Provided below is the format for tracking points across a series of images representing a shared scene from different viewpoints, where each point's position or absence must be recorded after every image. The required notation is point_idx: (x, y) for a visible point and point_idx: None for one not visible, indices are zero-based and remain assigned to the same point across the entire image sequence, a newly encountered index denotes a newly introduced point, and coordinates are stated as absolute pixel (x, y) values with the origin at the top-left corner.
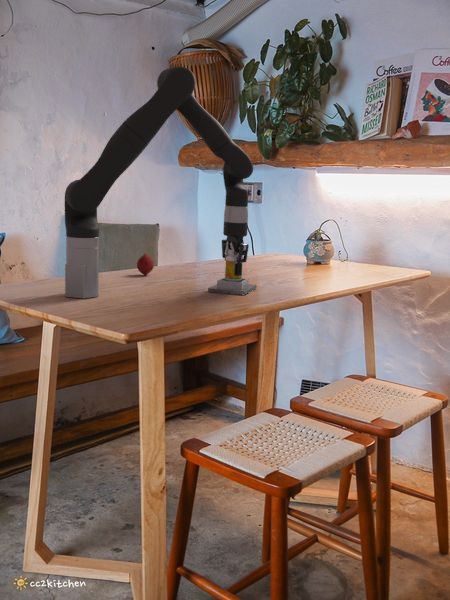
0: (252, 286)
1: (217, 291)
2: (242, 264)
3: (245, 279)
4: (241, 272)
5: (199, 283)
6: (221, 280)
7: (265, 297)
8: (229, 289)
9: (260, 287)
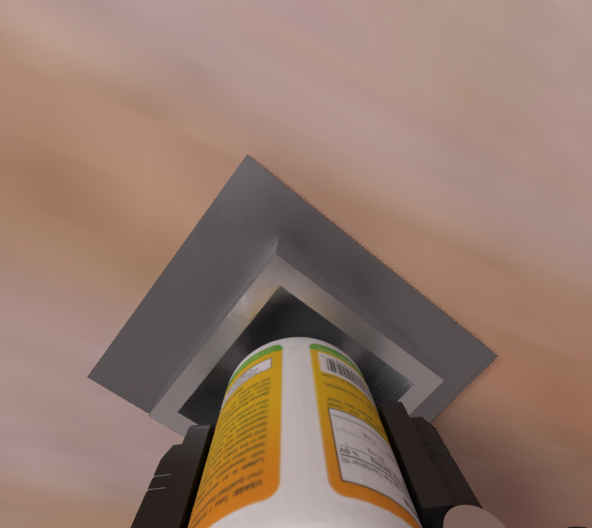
0: (311, 222)
1: None
2: (358, 450)
3: (296, 295)
4: (434, 428)
5: (34, 469)
6: None
7: (580, 234)
8: None
9: (195, 95)
